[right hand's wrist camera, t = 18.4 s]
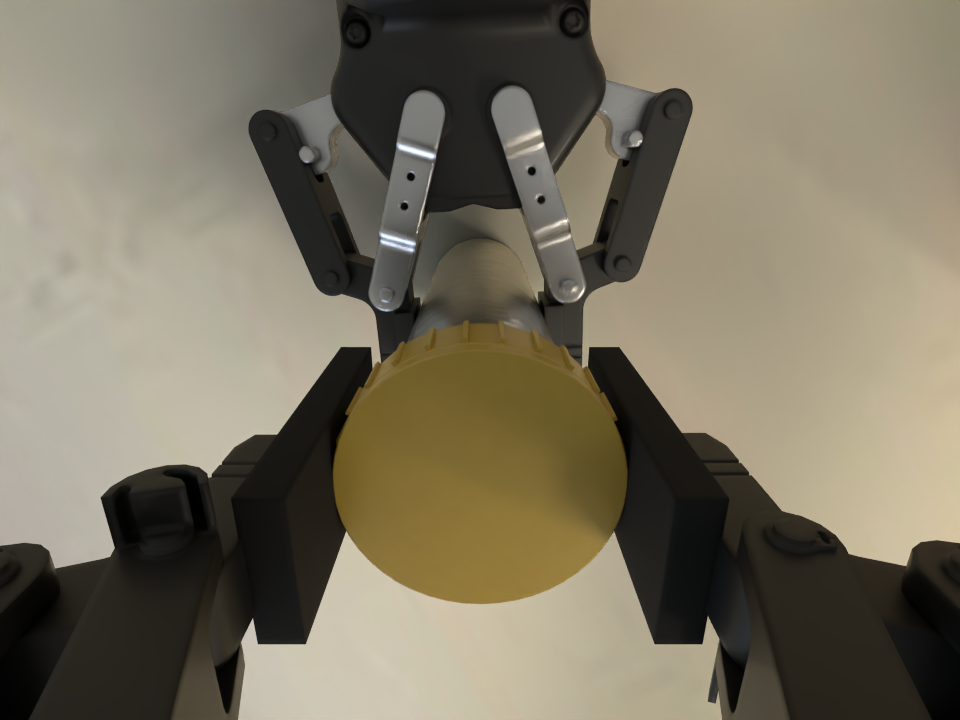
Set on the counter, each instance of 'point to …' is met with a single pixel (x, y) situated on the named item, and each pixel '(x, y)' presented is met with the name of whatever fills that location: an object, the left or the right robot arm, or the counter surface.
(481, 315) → the bottle
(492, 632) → the counter surface
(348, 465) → the lid
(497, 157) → the left robot arm
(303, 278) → the counter surface
